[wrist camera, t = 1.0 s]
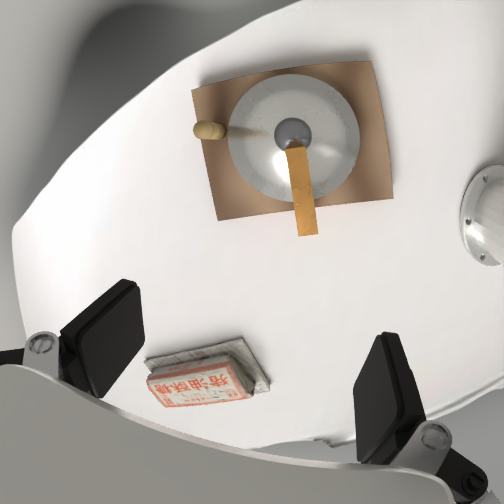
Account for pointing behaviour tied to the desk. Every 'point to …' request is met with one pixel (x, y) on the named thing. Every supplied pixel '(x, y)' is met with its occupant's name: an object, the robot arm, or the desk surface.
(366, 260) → the desk surface
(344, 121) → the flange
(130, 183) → the desk surface
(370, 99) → the board
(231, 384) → the packaged product
